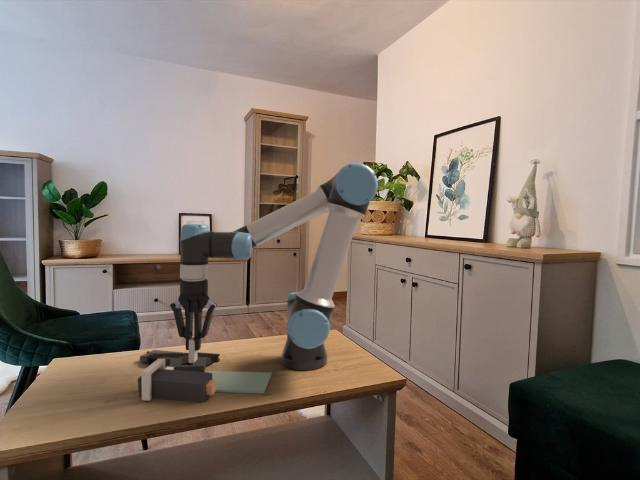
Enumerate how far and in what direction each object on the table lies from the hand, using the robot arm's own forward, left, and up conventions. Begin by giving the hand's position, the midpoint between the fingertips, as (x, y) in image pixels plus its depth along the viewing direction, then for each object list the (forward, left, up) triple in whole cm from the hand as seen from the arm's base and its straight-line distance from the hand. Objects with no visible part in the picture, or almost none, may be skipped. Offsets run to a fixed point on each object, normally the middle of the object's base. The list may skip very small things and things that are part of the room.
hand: (193, 361), depth 103 cm
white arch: (+8, +5, -6) cm, 11 cm away
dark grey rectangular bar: (+1, +8, -6) cm, 10 cm away
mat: (-9, -1, -6) cm, 11 cm away
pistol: (+10, -11, -6) cm, 16 cm away
